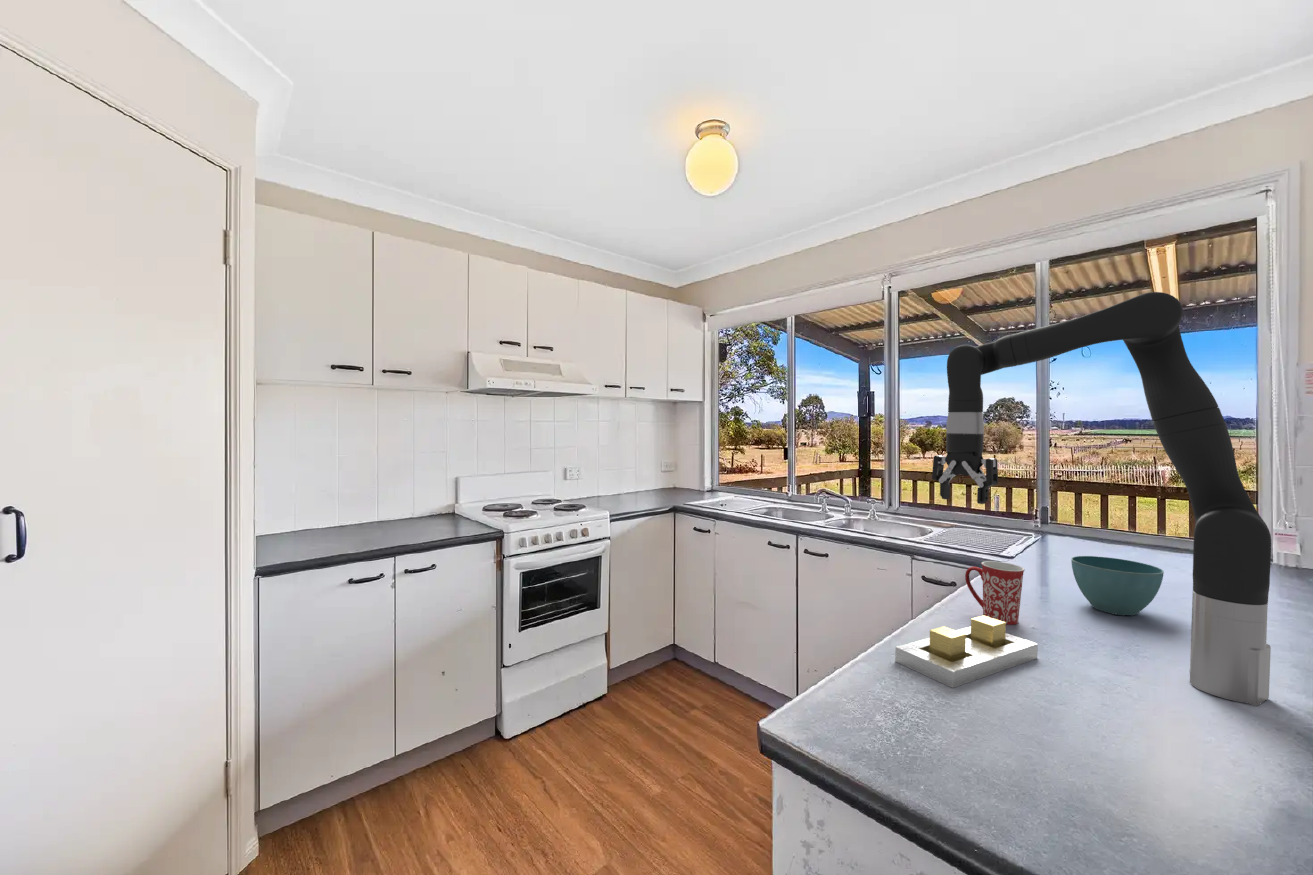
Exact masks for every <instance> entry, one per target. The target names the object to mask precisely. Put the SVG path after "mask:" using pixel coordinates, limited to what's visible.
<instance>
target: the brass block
mask: <svg viewBox="0 0 1313 875" xmlns="http://www.w3.org/2000/svg"><path fill="white" fill-rule="evenodd" d="M956 630H957V629H956ZM956 630H955V629H952V628H949V627H947V626H945V625H943V626H941V627H940V626H939V627H935V628H934V629H933V628H932V629H929V638H930V642H929V653H931V654H933V655H936V656H938V657H940V658H943V659H945V660H947V661H950V662H955V661H958V660H961V659H964V658H965V651H966V634H964V633H961V632H958V631H956Z"/></svg>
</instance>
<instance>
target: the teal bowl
mask: <svg viewBox="0 0 1313 875" xmlns="http://www.w3.org/2000/svg"><path fill="white" fill-rule="evenodd" d="M1070 563H1071V569H1072V573H1073V577H1074V580H1075V582H1076V584H1077V586H1078V588H1079V591H1080V593H1082V595H1083V596H1084V597H1085V599H1086V600H1087V601H1088V602H1089V604H1090V605H1091V606H1092V607H1093V608H1094V609H1096V610H1098V611H1101V612H1104V613H1107V612H1108V613H1107V614H1111V613H1112V615H1117V614H1118V615H1117V616H1125V615H1131V616H1134V615H1138V614H1139V613H1140V612H1142V611H1143V610H1144V609H1145V608H1147V607H1148V606H1149V605H1150V604H1151V603H1152V601H1153V600H1154V599H1155V598H1156V596H1157V594H1158V592H1159V590H1160V589H1161V585H1162V583H1163V579H1164V574H1165V572H1164V571H1165V570H1163V569H1162V568H1159V567H1157V566H1154V565H1151V564H1147V563H1144V562H1139V561H1134V560H1129V559H1122V558H1115V557H1108V556H1095V555H1079V556H1078V555H1077V556H1072V557H1071V562H1070Z"/></svg>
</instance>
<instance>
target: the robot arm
mask: <svg viewBox="0 0 1313 875" xmlns="http://www.w3.org/2000/svg"><path fill="white" fill-rule="evenodd" d="M1183 308H1184V307H1183V306H1182V303H1181V302H1180V300H1179V299H1178V298H1177V297H1175V296H1174V295H1173V294H1169V293H1166V292H1162V291H1161V292H1159V291H1151V292H1150V291H1149V292H1144V293H1142V294H1139V295H1137V296H1134V297H1131V298H1129V299H1126V300H1123V301H1121V302H1118V303H1116V304H1114V305H1110V306H1109V307H1105V308H1103V309H1100V310H1097V311H1094V312H1092V313H1088V314H1085V315H1083V316H1078V317H1075V318H1072V319H1068V320H1065V321H1061V322H1058V323H1057V322H1056V323H1053V324H1049V325H1045V326H1041V327H1037V328H1032V329H1028V330H1025V331H1020V332H1016V333H1013V334H1008V335H1005V336H1002V337H1000V338H997V339H996V340H995V341H992V342H990V343H985V344H981V345H977V346H973V345H971V344H961V345H957V346H956V347H954V348H953V349H952V350H951V351H950V352H949V353H948V356H947V359H946V375H947V383H948V384H947V385H948V405H947V406H948V408H947V409H948V410H947V419H946V428H945V429H946V440H945V450H946V456H944V455H940V454H939V455H933V461H932V475H931V478H932V479H931V480H934V481H936V482H939V496H940V497H941V499H942V500H950V499H951V483H950V482H951V481H952V479H954V477H956V476H964V477H971V479H972V480H974V482H975V483H976V484H977V486H978V487H977V493H976V494H977V495H976V497H977V499H976V502H977V504H978V505H984V504H986V503H987V502H988V501H989V488H990V487H993V486H997V485H999V468H998V467H999V466H998V459H997V458H991V457H990V458H984V457H983V453H984V439H985V438H984V436H985V434H984V433H985V432H984V430H985V422H984V421H985V419H984V413H983V411H984V394H983V390H982V387H981V386H982V385H981V382H982V376H983V375H986V374H989V373H993V372H995V371H999V370H1002V369H1005V368H1006V369H1007V368H1010V367H1011V368H1013V367H1017V366H1023V365H1026V364H1031V363H1035V362H1036V363H1037V362H1040V361H1044V360H1047V359H1051V358H1053V357H1057V356H1059V355H1063V354H1065V353H1069V352H1071V351H1076V350H1078V349H1081V348H1084V347H1089V346H1092V345H1097V344H1102V343H1107V342H1114V341H1123V343H1124V344H1125V346H1126V348H1127V350H1128V351H1129V354H1130V356H1131V357H1132V359H1133V361H1134V364H1135V365H1136V367H1137V370H1138V372H1139V375H1140V378H1141V383H1142V388H1143V392H1144V396H1145V401H1146V404H1147V408H1148V410H1149V414H1150V418H1151V421H1152V423H1153V426H1154V428H1155V431H1156V434H1157V436H1158V438H1159V442H1160V443H1161V445H1162V448H1163V449H1164V451H1165V453H1166V455H1167V457H1168V459H1169V460H1170V461H1171V463H1172V465H1173V467H1174V468H1175V470H1176V471H1177V472H1178V475H1179V476H1180V477H1181V479H1182V481H1183V484H1184V485H1185V487H1186V490H1187V492H1188V497H1189V500H1190V505H1191V508H1192V511H1193V515H1194V521H1195V527H1194V530H1193V544H1192V545H1193V547H1192V548H1193V552H1192V553H1193V554H1192V598H1191V599H1192V603H1191V631H1190V634H1191V635H1190V657H1189V658H1190V659H1189V661H1190V662H1189V683H1190V684H1191V685H1192V686H1193V687H1194V688H1196V689H1198V690H1199V691H1202V692H1204V693H1206V694H1209V695H1212V696H1216V697H1218V698H1222V699H1225V700H1230V701H1234V702H1238V703H1244V702H1246V704H1248V703H1249V705H1253V706H1255V707H1258V706H1259V704H1260V703H1261V704H1263V703H1264V702H1266V701H1267V700H1269V699H1270V679H1271V677H1270V676H1271V675H1270V674H1271V652H1272V651H1271V649H1272V646H1271V645H1270V644H1269V643H1267V640H1268V639H1267V638H1268V637H1267V633H1268V630H1267V629H1268V609H1269V608H1268V607H1269V605H1268V604H1269V594H1270V593H1269V591H1270V585H1271V578H1270V577H1271V565H1272V564H1271V562H1272V560H1271V559H1272V535H1271V531H1270V529H1269V527H1268V525H1267V523H1266V522H1265V521H1264V519H1263V518H1262V517H1261V515H1260V514H1259V512H1258V511H1257V508H1256V506H1255V505H1254V503H1253V502H1252V500H1251V498H1250V496H1249V494H1248V493H1247V491H1246V489H1245V487H1244V485H1243V483H1242V481H1241V477H1240V475H1239V470H1238V468H1237V467H1238V466H1237V462H1236V457H1235V452H1234V447H1233V443H1232V440H1231V436H1230V433H1229V430H1228V427H1227V424H1226V422H1225V419H1224V417H1223V414H1222V412H1221V409H1220V407H1219V404H1218V402H1217V400H1216V399H1215V396H1214V395H1213V393H1212V392H1211V390H1210V389H1209V387H1208V385H1207V384H1206V382H1205V381H1204V380H1203V378H1202V377H1201V376H1200V374H1199V373H1198V372H1197V370H1196V369H1195V368H1194V366H1193V364H1192V362H1191V361H1190V359H1189V357H1188V353H1187V352H1186V348H1185V345H1184V341H1183V339H1182V338H1183V337H1182V333H1181V330H1180V329H1181V328H1180V323H1181V320H1182V319H1183V313H1184V310H1183ZM945 464H947V467H946V468H945ZM982 466H983V467H984V468H985V473H984V471H983V469H982V468H981V467H982ZM944 468H945V470H944ZM1268 698H1269V699H1268ZM1265 700H1266V701H1265ZM1262 702H1263V703H1262ZM1261 704H1260V705H1261Z"/></svg>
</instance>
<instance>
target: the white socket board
mask: <svg viewBox="0 0 1313 875" xmlns="http://www.w3.org/2000/svg"><path fill="white" fill-rule="evenodd" d="M956 631H958V632H961V633H964V634H966V651H965V658H964V659H961V660H958V661H955V662H950V661H947V660H945V659H943V658H940V657H938V656H936V655H933V654H931V653H929V642H930V637H928V638H923V639H919V640H916V641H912V642H909V643H905V644H900V645H897V646H895V659H894V661H895V662H896V663H897V664H900V665H902V666H903V667H906V668H909V669H910V670H913V671H915V672H918V673H919V674H921V675H924V676H926V677H927V678H929V679H932V680H934V681H937V682H939V683H941V684H943V685H945V686H947V687H950V688H952V689H954V688H957V687H959V686H962V685H966V684H968V683H971V682H973V681H977V680H980V679H982V678H985V677H989V676H991V675H993V674H997V673H999V672H1002V671H1005V670H1008V669H1011V668H1013V667H1016V666H1019V665H1022V664H1024V663H1028V662H1030V661H1031V662H1032V661H1034V660H1035V659H1038V652H1039V651H1038V646H1039V644H1038V643H1036V642H1034V641H1031V640H1028V639H1024V638H1021V637H1019V636H1016V635H1013V634H1011V633H1010V634H1009V633H1007V632H1006V634H1005V646H1002V647H999V648H996V649H995V648H992V647H990V646H987V645H984V644H981V643H979V642H976V641H973V640H971V625H970V626H967V627H963V628H960V629H956Z"/></svg>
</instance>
